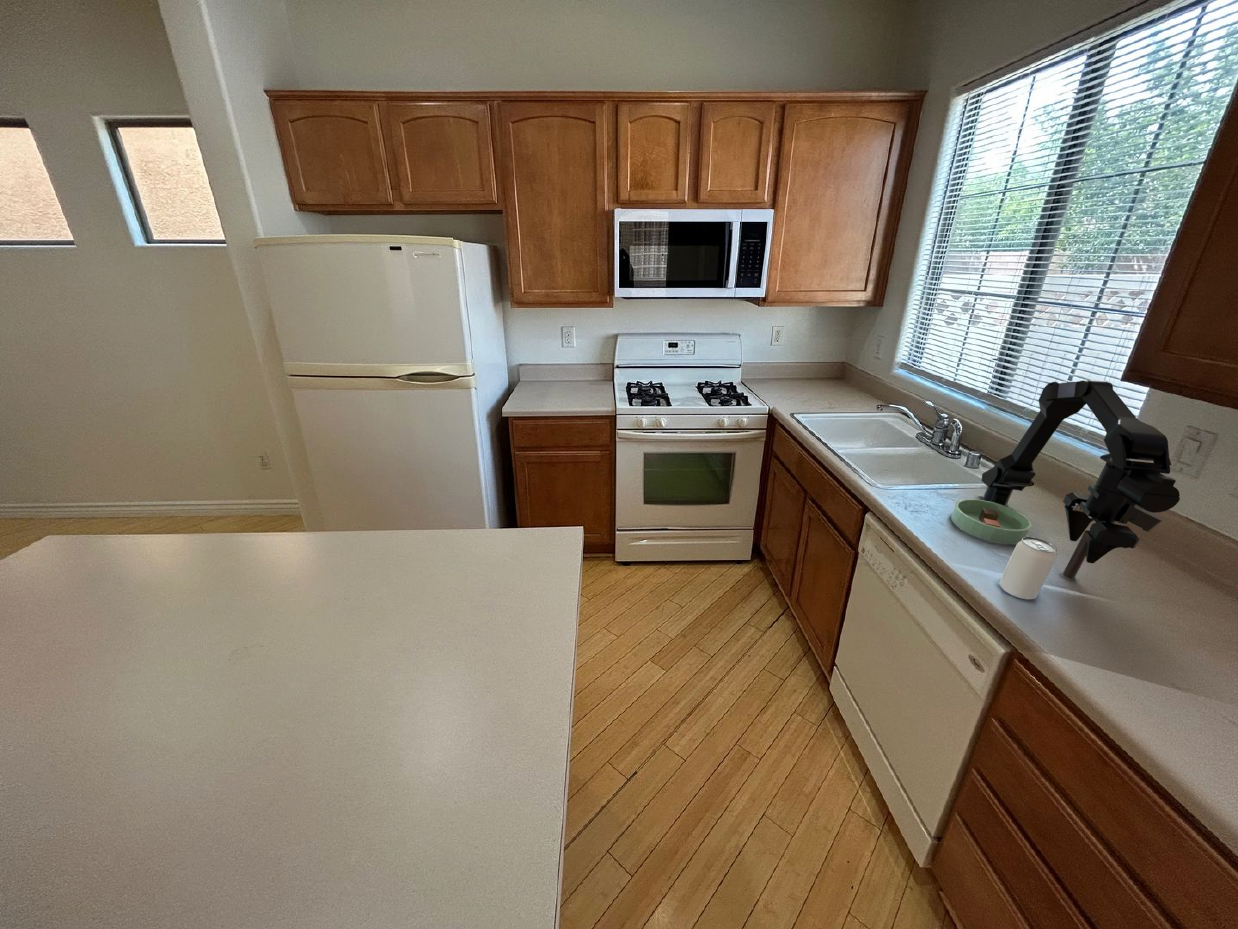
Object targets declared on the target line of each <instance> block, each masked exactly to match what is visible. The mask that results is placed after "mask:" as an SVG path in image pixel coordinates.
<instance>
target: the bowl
mask: <svg viewBox="0 0 1238 929" xmlns="http://www.w3.org/2000/svg"><path fill="white" fill-rule="evenodd" d="M983 508H985V509H990V510H995V511H996V512H997V513H998V515H999V516H998V519H997V521H998V523H999V525H1000V528H999V527H994V526H991V525H988V524H984V523H982V522H981V521H980V519H979V516H980V514H981V511H982V509H983ZM950 519H951V521H952V523H953V524H954V525H955V526H956V527H958V529H960V530H961V531H963V532H965V533H967V534H970V535H971V536H974V537H977V538H979V539H982V540H985V541H988V542H992V543H997V544H1002V545H1017V543H1019V542H1020V541H1021V540H1022V538H1023V537H1029V534H1030V532H1031V529H1032V528H1033V522H1032V521H1031V520H1030V519H1029V518H1028V517H1027V516H1026V515H1025V514H1023V513H1021V512H1019V511H1018V510H1016V509H1013V508H1011V507H1009V506H1008V507H1006V506H1004V505H1001V504H997V503H994V502H990V501H985V500H980V499H978V498H964V499H960V500H957V502H956V503H955V506H954V509H953V511H952V514H951V516H950Z"/></svg>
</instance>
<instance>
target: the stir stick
mask: <svg viewBox="0 0 1238 929" xmlns="http://www.w3.org/2000/svg"><path fill="white" fill-rule="evenodd" d="M1087 533H1090V529H1089V530H1088V529H1085V531H1084V532H1083V534H1082V535H1081V537H1080V538H1079V540H1078V543H1077V545H1076V547H1075V549H1074V551H1073V553H1072V555H1071V557H1070V559H1069V561H1068V563H1067V565H1066V566H1065V569H1064V571H1063V572H1062V575H1063V576H1064V577H1066V578H1067V579H1075V578H1076V576H1077V575H1078V572H1079V570H1080V568H1081V566H1082V564H1083V563H1084V561H1085V560H1086V547H1087Z"/></svg>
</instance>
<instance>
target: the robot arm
mask: <svg viewBox="0 0 1238 929" xmlns="http://www.w3.org/2000/svg"><path fill="white" fill-rule="evenodd" d="M1086 405H1087V407H1088V409H1090V411H1091V412H1092V414H1093V415H1094V416H1095V418H1096V419H1097V421H1098V422H1099V423H1100V425H1102V427H1103V429H1104V431H1105V435H1104V438H1103V443H1104V444H1105V446H1106V450H1107V451H1108V453H1106V454H1103V455H1099V459H1100V460H1102V461H1104V462H1105V464H1104V466H1103V468H1102V470H1101V472H1100V474H1099V476H1098V478H1097V480H1096V482H1095V484H1094V485H1091V484H1089V485H1088V487H1087V490H1088V492H1089V493H1090V494H1086V493H1082V492H1081V493H1080V492H1075V491H1072V492H1069V493H1067V494H1065V496H1064V499H1063V501H1062V503H1063V504H1064V506H1063V507H1064V510H1065V517H1066V523H1067V529H1068V530H1067V531H1068V537H1069V540H1070V541H1071V542H1077V541H1079V540H1080V539H1081V537H1082V536H1083V534H1084V532H1085V530H1087V528H1088V527H1089V526H1090V527H1089V531H1090V533H1087V547H1086V557H1085V562H1086V563H1088V564H1095V563H1096V562H1097V561H1099V560H1100V559H1101V558H1103V557H1104V556H1106V555H1107V554H1108V553H1110V552H1111V551H1113V550H1114V549H1119V548H1121V549H1135V548H1136V547H1137V546H1138V544H1139V542H1140V538H1139V537H1138V535H1137V534H1136V533H1135V532H1134V531H1133V529H1131V528H1130V527H1129V526H1128V525H1127V524H1128V523H1130V524H1132V525H1135V526H1137V527H1139V528H1141V530H1142V531H1145V532H1147V533H1148V532H1151V530H1153V529H1154V528H1155V527H1157V526H1158V525H1159V524H1161V523H1162V522H1163V520H1162V519H1161V517H1159V516H1158V515H1157V514H1159V513H1163V512H1167V511H1169V510H1171V509H1173V508H1174V507H1175V506H1176V505H1178V503H1179V502H1180V501H1181V495H1180V491H1179V489H1178V488H1177V487H1175V486H1174V485H1175V484H1176V482H1177V480H1176V479H1175V478H1172V477H1170V476H1167V475H1169V474H1171V466H1172V462H1171V459H1170V451H1169V440H1168V438H1167V436H1166V435H1165V434H1164V433H1162V432H1161V431H1160V430H1159V429H1157V428H1156V427H1154V426H1153V425H1150V424H1148V423H1146V422H1143V421H1141V420H1140V419H1139V418H1138V417H1136V415H1135V414H1134V413H1133V412H1132V411H1131V409H1130V408H1129V407H1128V405H1126V404H1125V402H1124V401H1123V400H1122V398H1121V397H1120V396H1119V395H1118V394H1117V392H1116V391H1115V389H1114V385H1113V383H1112V382H1110V381H1108V380H1101V379H1099V380H1098V379H1083V380H1078V381H1069V382H1066V381H1065V382H1064V381H1051V382H1049V383H1047V384H1046V385H1045V386H1044V387H1043V389H1042V391H1041V394H1040V396H1039V398H1038V406H1039V411H1038V413H1037V415H1036V416H1035V418H1034V419H1033V420H1032V422H1031V424H1030V425H1029V427H1028V428H1027V430H1026V431H1025V433H1024V435H1023V436H1022V437H1021V439H1020V440H1019V442H1018V443H1017V445H1016V446H1015V448H1014V450H1013V451H1012V452H1011V453H1009V455H1006V456H1004V457H1002V458H999V460H998V461H997V462H996V463H995V464H994V466H993V467H992V468H989V469H987V470H986V471H984V472H983V473H982V474H981V479H980V481H981V482H982V483H983V484H984V485H986V489H985V492H984V495H983V496H981V495H978V498H979V500H985V501H990V502H994V503H997V504H1001V505H1004V506H1006V507H1009V505H1008V503H1009V501H1010V498H1011V496H1012V493H1013V491H1020V492H1022V491H1023V490H1024V489H1025V488H1026V487H1027V485H1030V484H1031V482H1032V480H1033V479H1034V477H1036V472H1035V471H1034V467H1033V463H1034V462H1035V460H1036V459H1037V458H1038V456H1039V454H1040V453H1041V452H1042V451H1043V449H1044V447H1045V446H1046V445H1047V443H1048V442H1049V441H1050V439H1051V437H1052V436H1053V435H1054V434H1055V432H1056V431H1057V429H1058V428H1059V426H1060V425H1062V422H1063V421H1064V420H1066V419H1068V418H1070V417H1072V416H1074V415H1076V414H1078V413H1079V412H1080V411H1081V410H1082V409H1083V408H1084V407H1085V406H1086ZM1156 513H1157V514H1156ZM1092 522H1094V523H1092ZM1116 522H1117V523H1120V524H1116ZM1091 523H1092V524H1091ZM1090 524H1091V525H1090ZM1121 524H1125V525H1121Z"/></svg>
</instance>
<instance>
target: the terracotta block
mask: <svg viewBox="0 0 1238 929" xmlns="http://www.w3.org/2000/svg"><path fill="white" fill-rule="evenodd" d="M982 523H984V524H988V525H991V526H994V527H999V528H1000V525H999V523H998V521H995V520H990V519H985V518H984V519H983V522H982Z"/></svg>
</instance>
